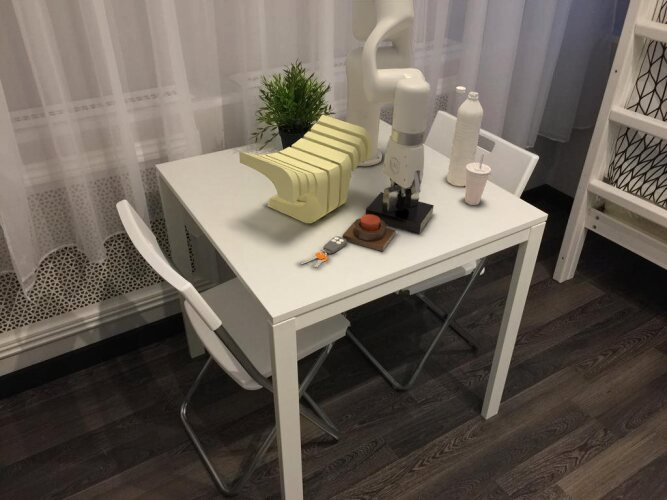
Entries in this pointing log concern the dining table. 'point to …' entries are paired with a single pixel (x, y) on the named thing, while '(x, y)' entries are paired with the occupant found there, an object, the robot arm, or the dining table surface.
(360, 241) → the button block
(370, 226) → the button
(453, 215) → the dining table surface
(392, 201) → the silver metal block
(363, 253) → the dining table surface
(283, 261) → the dining table surface
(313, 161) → the slatted curved stool
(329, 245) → the key chain
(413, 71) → the robot arm
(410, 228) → the plate
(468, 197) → the smoothie
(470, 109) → the water bottle
